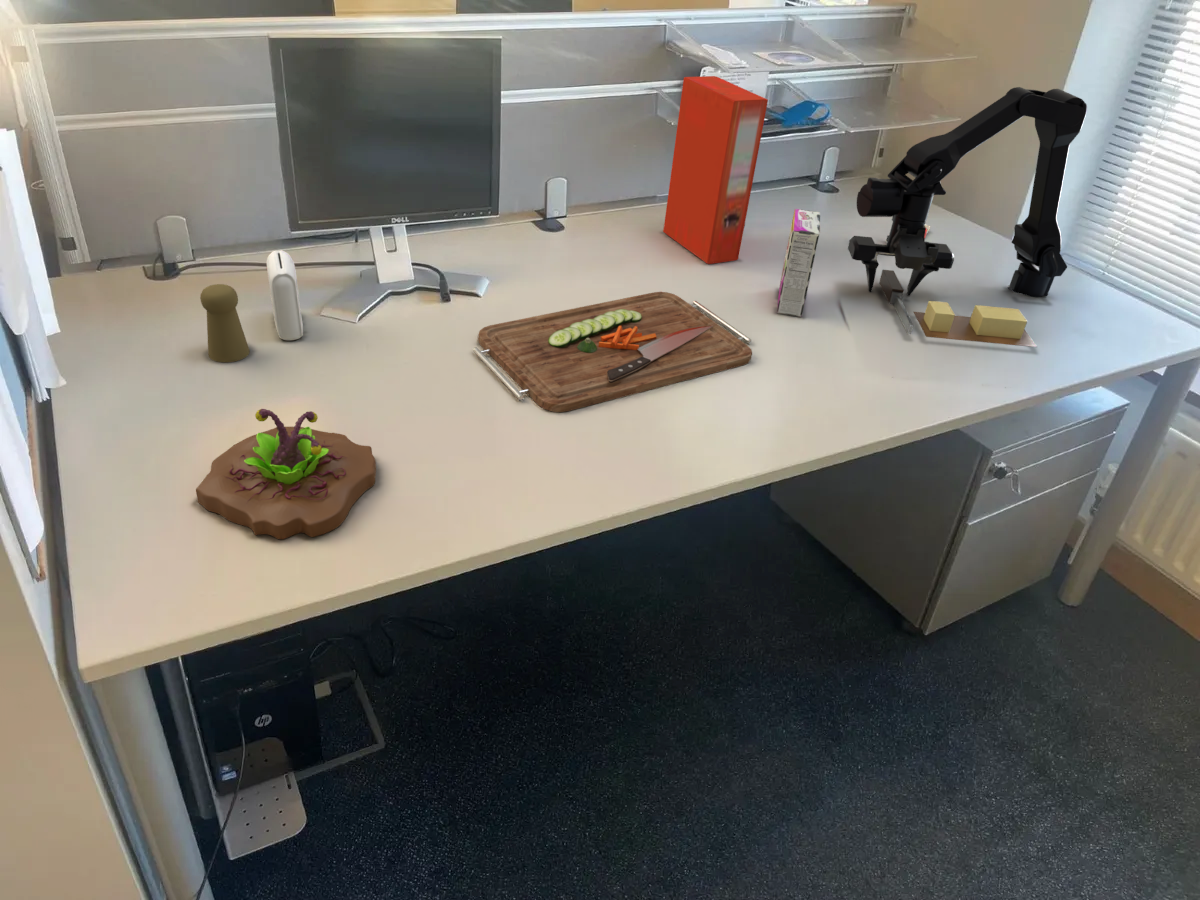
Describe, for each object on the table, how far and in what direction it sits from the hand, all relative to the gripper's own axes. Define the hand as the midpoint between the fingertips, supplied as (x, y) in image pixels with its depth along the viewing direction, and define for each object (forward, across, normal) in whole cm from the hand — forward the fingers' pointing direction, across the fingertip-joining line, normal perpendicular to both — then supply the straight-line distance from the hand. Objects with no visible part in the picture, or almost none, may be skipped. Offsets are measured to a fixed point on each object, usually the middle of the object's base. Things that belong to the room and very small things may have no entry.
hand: (888, 293), depth 175 cm
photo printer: (+1, -106, -34) cm, 111 cm away
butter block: (0, +17, -12) cm, 21 cm away
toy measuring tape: (+1, +12, +32) cm, 34 cm away
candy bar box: (+1, -20, -6) cm, 21 cm away
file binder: (+1, -36, +18) cm, 40 cm away
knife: (+1, 0, -6) cm, 6 cm away
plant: (+1, -92, -74) cm, 118 cm away
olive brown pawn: (+1, -112, -44) cm, 120 cm away
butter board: (+1, +13, -12) cm, 18 cm away
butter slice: (0, +6, -13) cm, 14 cm away
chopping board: (+1, -52, -30) cm, 60 cm away
